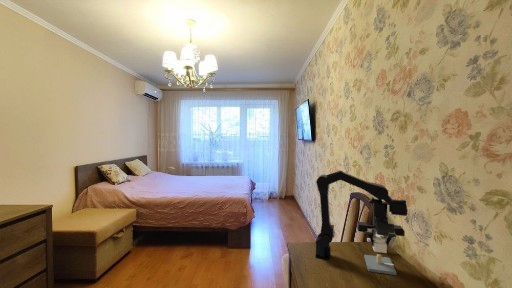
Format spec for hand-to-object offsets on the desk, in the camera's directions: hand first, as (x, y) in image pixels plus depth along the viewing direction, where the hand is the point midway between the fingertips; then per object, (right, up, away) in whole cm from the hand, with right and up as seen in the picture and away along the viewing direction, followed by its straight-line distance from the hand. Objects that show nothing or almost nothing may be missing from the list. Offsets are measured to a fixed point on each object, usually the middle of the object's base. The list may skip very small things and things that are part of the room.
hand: (379, 247), depth 112 cm
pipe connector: (+7, -8, +15) cm, 18 cm away
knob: (0, -1, 0) cm, 1 cm away
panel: (0, -9, 0) cm, 9 cm away
